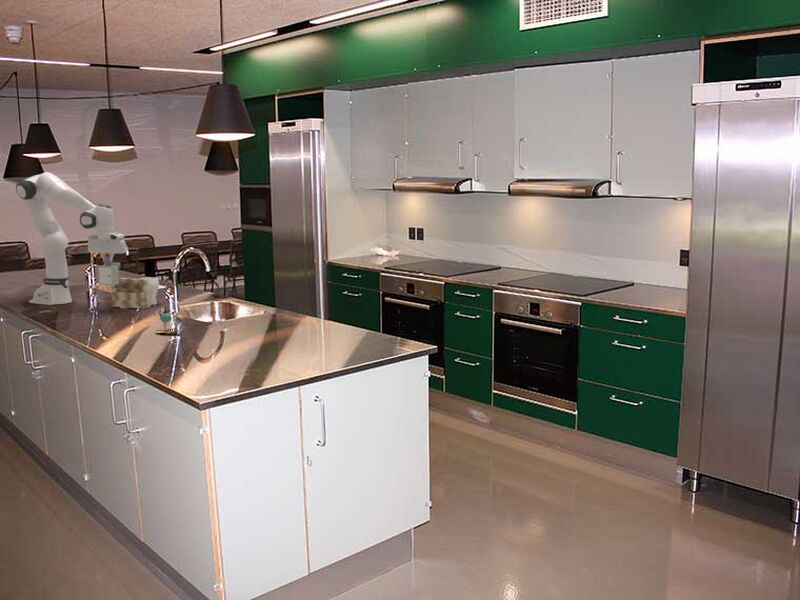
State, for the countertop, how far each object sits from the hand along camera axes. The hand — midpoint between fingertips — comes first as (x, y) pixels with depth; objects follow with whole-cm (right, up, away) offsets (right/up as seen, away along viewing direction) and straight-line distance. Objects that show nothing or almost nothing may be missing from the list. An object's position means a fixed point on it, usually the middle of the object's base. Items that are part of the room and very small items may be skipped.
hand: (107, 261), depth 401 cm
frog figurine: (+45, -37, -44) cm, 73 cm away
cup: (+14, -23, +26) cm, 38 cm away
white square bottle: (0, -12, +2) cm, 12 cm away
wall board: (+6, -25, +17) cm, 31 cm away
